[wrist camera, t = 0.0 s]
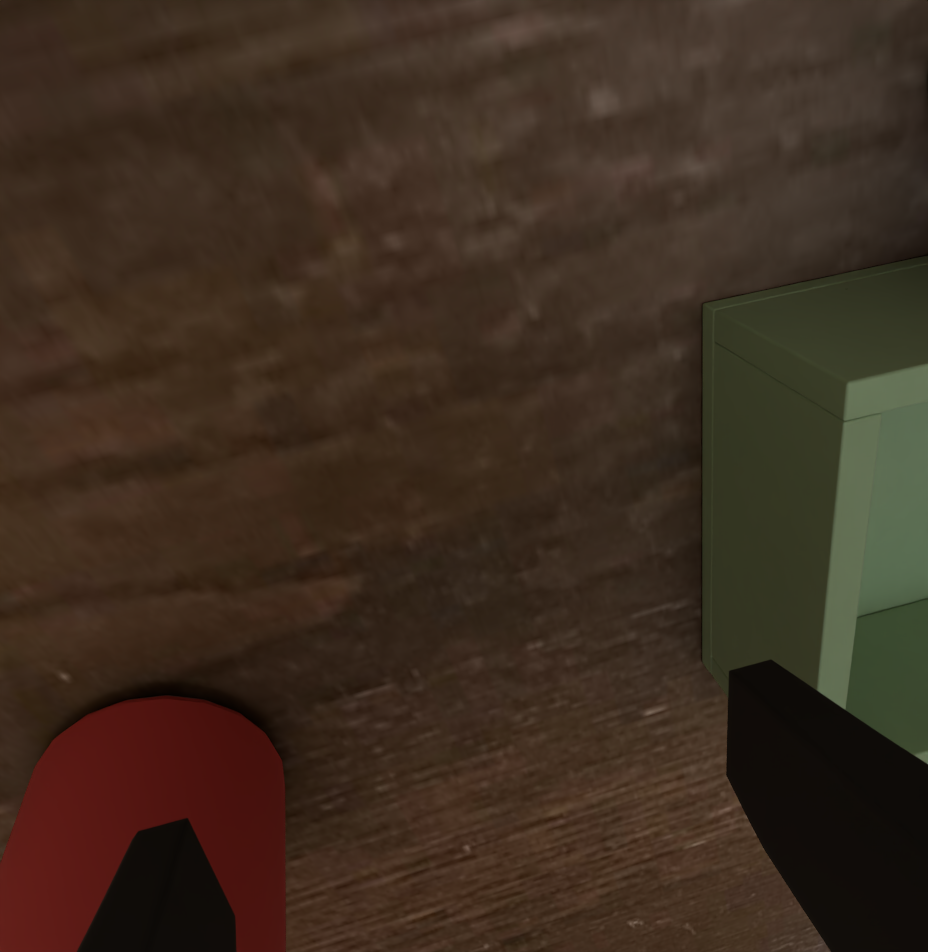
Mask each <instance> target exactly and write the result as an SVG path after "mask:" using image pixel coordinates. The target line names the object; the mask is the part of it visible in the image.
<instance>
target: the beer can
mask: <svg viewBox="0 0 928 952" xmlns="http://www.w3.org/2000/svg"><path fill="white" fill-rule="evenodd" d="M185 818H188V819H189V821H190V823H191V826H192V828H193V830H194V832H195V834H196V836H197V838H198V840H199V842H200V844H201V846H202V848H203V850H204V852H205V854H206V856H207V859H208V861H209V863H210V865H211V867H212V869H213V871H214V873H215V875H216V877H217V879H218V881H219V883H220V885H221V887H222V890H223V892H224V894H225V896H226V898H227V900H228V902H229V904H230V906H231V908H232V910H233V912H234V914H235V919H236V950H237V952H286V889H285V781H284V772H283V763H282V759H281V758H280V756H279V755H278V753H277V751H276V750H275V748H274V746H273V745H272V743H271V741H270V740H269V738H268V736H267V735H266V733H265V732H264V731H262V730H261V729H260V728H259V727H257V726H256V725H255V724H253V723H252V722H251V721H249V720H248V719H247V718H246V717H244V716H243V715H242V714H240V713H239V712H237V711H234V710H231V709H229V708H226V707H223V706H221V705H218V704H215V703H213V702H210V701H207V700H205V699H198V698H189V697H180V696H171V695H162V696H154V697H145V698H137V699H128V700H125V701H122V702H119V703H117V704H114V705H111V706H108V707H106V708H103V709H100V710H98V711H95V712H92V713H89V714H87V715H86V716H84V717H83V718H82V719H80V720H79V721H78V722H76V723H75V724H73V725H72V726H71V727H69V728H68V729H66V730H65V731H64V732H62V733H61V734H60V735H58V736H57V737H56V738H55V739H54V740H53V741H52V742H51V744H50V745H49V747H48V748H47V750H46V751H45V752H44V754H43V755H42V757H41V758H40V760H39V761H38V763H37V764H36V766H35V767H34V770H33V773H32V776H31V779H30V781H29V784H28V787H27V790H26V793H25V795H24V798H23V801H22V804H21V807H20V809H19V812H18V815H17V818H16V821H15V823H14V826H13V829H12V832H11V835H10V837H9V840H8V843H7V846H6V849H5V851H4V854H3V857H2V860H1V863H0V952H77V950H78V948H79V946H80V944H81V942H82V940H83V938H84V936H85V934H86V932H87V930H88V928H89V926H90V924H91V922H92V920H93V918H94V916H95V914H96V912H97V910H98V908H99V906H100V904H101V902H102V900H103V898H104V896H105V894H106V892H107V890H108V888H109V886H110V884H111V882H112V880H113V878H114V876H115V874H116V871H117V869H118V867H119V865H120V863H121V861H122V859H123V857H124V855H125V853H126V851H127V849H128V847H129V845H130V843H131V841H132V839H133V838H134V836H135V835H136V833H137V832H138V831H140V830H144V829H148V828H151V827H155V826H159V825H162V824H166V823H170V822H174V821H177V820H181V819H185Z"/></svg>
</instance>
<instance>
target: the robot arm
mask: <svg viewBox="0 0 928 952" xmlns="http://www.w3.org/2000/svg"><path fill="white" fill-rule="evenodd" d="M726 775H727V777H728V779H729V781H730V783H731V785H732V787H733V789H734V791H735V793H736V795H737V797H738V799H739V802H740V804H741V806H742V808H743V810H744V812H745V814H746V816H747V817H748V819H749V821H750V823H751V825H752V827H753V829H754V831H755V833H756V835H757V837H758V838H759V840H760V842H761V844H762V846H763V848H764V850H765V851H766V853H767V854H768V856H769V857H770V859H771V861H772V862H773V864H774V865H775V867H776V868H777V870H778V871H779V873H780V874H781V876H782V878H783V879H784V881H785V882H786V884H787V885H788V887H789V888H790V890H791V891H792V893H793V894H794V896H795V897H796V899H797V901H798V902H799V904H800V905H801V907H802V908H803V910H804V911H805V913H806V914H807V916H808V917H809V919H810V920H811V922H812V923H813V925H814V926H815V928H816V929H817V931H818V932H819V934H820V935H821V937H822V938H823V940H824V941H825V943H826V945H827V946H828V948H829V949H830V951H831V952H928V764H927V763H925V762H924V761H922V760H921V759H919V758H918V757H916V756H914V755H913V754H911V753H910V752H908V751H907V750H905V749H904V748H902V747H900V746H899V745H897V744H896V743H894V742H893V741H891V740H890V739H888V738H887V737H885V736H884V735H882V734H881V733H879V732H878V731H876V730H875V729H873V728H872V727H870V726H869V725H867V724H866V723H864V722H863V721H861V720H860V719H858V718H857V717H855V716H854V715H852V714H851V713H849V712H848V711H846V710H845V709H843V708H842V707H840V706H839V705H838V704H836V703H835V702H833V701H832V700H830V699H829V698H827V697H826V696H824V695H823V694H821V693H820V692H819V691H817V690H816V689H814V688H813V687H811V686H810V685H808V684H807V683H805V682H804V681H802V680H801V679H800V678H798V677H797V676H795V675H794V674H792V673H791V672H789V671H788V670H786V669H785V668H783V667H782V666H780V665H779V664H777V663H776V662H774V661H773V660H771V659H770V660H767V661H763V662H759V663H756V664H752V665H748V666H745V667H741V668H737V669H734V670H730V671H729V687H728V730H727V772H726ZM77 952H237V950H236V919H235V914H234V912H233V910H232V908H231V906H230V904H229V902H228V900H227V898H226V896H225V894H224V892H223V890H222V887H221V885H220V883H219V881H218V879H217V877H216V875H215V873H214V871H213V869H212V867H211V865H210V863H209V861H208V859H207V856H206V854H205V852H204V850H203V848H202V846H201V844H200V842H199V840H198V838H197V836H196V834H195V832H194V830H193V828H192V826H191V823H190V821H189V819H188V818H185V819H181V820H177V821H174V822H170V823H166V824H162V825H159V826H155V827H151V828H148V829H144V830H140V831H138V832H137V833H136V835H135V836H134V838H133V839H132V841H131V843H130V845H129V847H128V849H127V851H126V853H125V855H124V857H123V859H122V861H121V863H120V865H119V867H118V869H117V871H116V874H115V876H114V878H113V880H112V882H111V884H110V886H109V888H108V890H107V892H106V894H105V896H104V898H103V900H102V902H101V904H100V906H99V908H98V910H97V912H96V914H95V916H94V918H93V920H92V922H91V924H90V926H89V928H88V930H87V932H86V934H85V936H84V938H83V940H82V942H81V944H80V946H79V948H78V950H77Z"/></svg>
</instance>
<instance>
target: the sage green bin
mask: <svg viewBox="0 0 928 952" xmlns="http://www.w3.org/2000/svg"><path fill="white" fill-rule="evenodd" d="M770 659H771V660H773V661H774V662H776V663H777V664H779V665H780V666H782V667H783V668H785V669H786V670H788V671H789V672H791V673H792V674H794V675H795V676H797V677H798V678H800V679H801V680H802V681H804V682H805V683H807V684H808V685H810V686H811V687H813V688H814V689H816V690H817V691H819V692H820V693H821V694H823V695H824V696H826V697H827V698H829V699H830V700H832V701H833V702H835V703H836V704H838V705H839V706H840V707H842V708H843V709H845V710H846V711H848V712H849V713H851V714H852V715H854V716H855V717H857V718H858V719H860V720H861V721H863V722H864V723H866V724H867V725H869V726H870V727H872V728H873V729H875V730H876V731H878V732H879V733H881V734H882V735H884V736H885V737H887V738H888V739H890V740H891V741H893V742H894V743H896V744H897V745H899V746H900V747H902V748H904V749H905V750H907V751H908V752H910V753H911V754H913V755H914V756H916V757H918V758H919V759H921V760H922V761H924V762H925V763H927V764H928V255H927V256H923V257H918V258H913V259H909V260H904V261H899V262H895V263H890V264H885V265H881V266H876V267H871V268H867V269H862V270H857V271H853V272H848V273H843V274H839V275H834V276H829V277H825V278H820V279H815V280H811V281H806V282H801V283H797V284H792V285H787V286H783V287H778V288H773V289H769V290H764V291H759V292H755V293H750V294H745V295H741V296H736V297H732V298H727V299H722V300H718V301H713V302H708V303H704V304H703V438H702V662H703V664H704V665H705V667H706V668H707V669H708V671H709V672H710V673H711V674H712V676H713V677H714V679H715V680H716V681H717V683H718V684H719V686H720V687H721V688H722V690H723V691H724V693H725V694H726V695H727V697H728V687H729V671H730V670H734V669H737V668H741V667H745V666H748V665H752V664H756V663H759V662H763V661H767V660H770Z"/></svg>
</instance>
